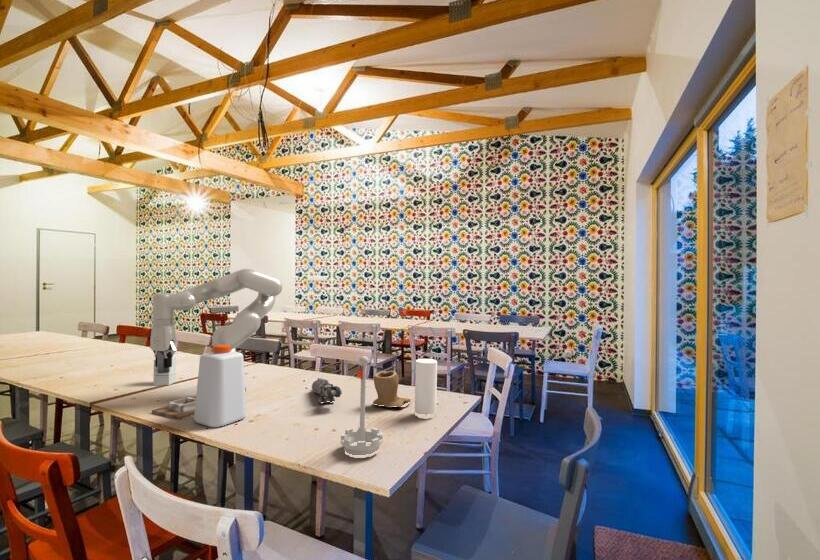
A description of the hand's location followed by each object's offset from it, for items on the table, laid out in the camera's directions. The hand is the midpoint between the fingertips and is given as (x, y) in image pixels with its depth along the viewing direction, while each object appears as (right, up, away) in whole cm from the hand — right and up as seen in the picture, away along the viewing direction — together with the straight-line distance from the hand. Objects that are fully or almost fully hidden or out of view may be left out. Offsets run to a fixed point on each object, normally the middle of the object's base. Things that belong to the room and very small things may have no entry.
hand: (163, 366), depth 166 cm
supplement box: (-19, -16, +32) cm, 41 cm away
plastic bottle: (+31, -17, -16) cm, 39 cm away
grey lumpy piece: (+64, -18, +12) cm, 68 cm away
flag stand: (+87, -18, -40) cm, 97 cm away
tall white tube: (+109, -19, -6) cm, 111 cm away
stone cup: (+94, -18, +5) cm, 96 cm away
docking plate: (+12, -16, -6) cm, 21 cm away
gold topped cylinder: (0, -2, 0) cm, 2 cm away
